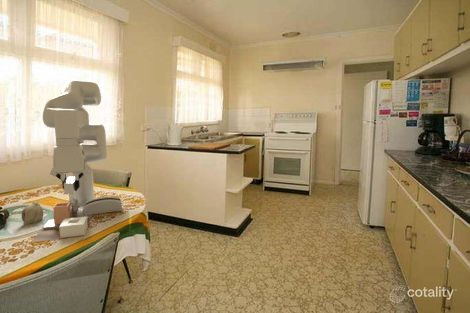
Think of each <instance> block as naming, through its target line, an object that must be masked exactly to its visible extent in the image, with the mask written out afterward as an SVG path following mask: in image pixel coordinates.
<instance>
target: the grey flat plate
mask: <svg viewBox="0 0 470 313" xmlns="http://www.w3.org/2000/svg"><path fill="white" fill-rule="evenodd" d="M91 220H92V217H91V216H89V219H88V221H87V225H88V226H89V225H90V222H91ZM48 221H49V220H48ZM48 221H46V223H47V222H48ZM46 223H45V224H46ZM45 224H44V225H43V226H42V228H41V229H40V230H39V231H38V232H37V234H36V235H35V236H34V238H33V239H32V240H31V241H30V243H38V242H47V241H55V240H56V241H57V240H64V239H72V238H73V239H74V238H82V237H85V235H81V236H72V237H64V238H60V229H59V228H55V229H45V230H43V227H44V226H45Z"/></svg>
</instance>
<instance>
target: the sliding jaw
mask: <svg viewBox="0 0 470 313" xmlns="http://www.w3.org/2000/svg"><path fill="white" fill-rule="evenodd" d="M52 208H53V210H52V211H53V219H54V225H57V224H61V223H62V222H63V220H64V219H66V218H73V217H72V206H71V205H70V202H57V203H55V204H54V206H53V207H52Z"/></svg>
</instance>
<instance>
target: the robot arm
mask: <svg viewBox="0 0 470 313" xmlns="http://www.w3.org/2000/svg"><path fill="white" fill-rule="evenodd" d="M101 102H102V94H101V89H100V87H99V85H98V84H97V83H96V82H95V81H93V80H80V79H70V80H67V81H66V82H65V83H64V85H63V88H62V89H61V92H60V95H58V96H55V97H53V98H51V99H49V100H48V101H47V102H46V104H45V105H44V108H43V112H42V122H43V124H44V126H46V127H47V128H50V129H51V128H52V129H54V132H55V133H54V134H55V145H56V146H54V147H53V153H52V154H53V156H52V157H53V158H52V169H51V170H50V172H49V175H51V176H53V177H56V178H58V179H59V180H60V181H61V183H62V184H61V185H62V190H64V182H65V181H66V180H67V178H68V177H67V174H71V177H75V181H74V182H75V199H77V200H78V207H82V206H85V204H86V202H87V201H89V200H92V199H95V198H96V197H95V191H94V190H95V188H94V171H93V168H92V167H91V166H90V164H88V163H95V162H97V163H98V162H103V161H106V159H107V138H106V137H107V136H106V135H107V134H106V130H105V127H104V124H101V123H91V122H90V119H89V118H90V117H89V116H90V115H89V112H88V111H87V110H86V108H84V107H83V106H95V107H96V106H99V105H100V104H101ZM85 142H95V143H85Z"/></svg>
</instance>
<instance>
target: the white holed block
mask: <svg viewBox="0 0 470 313" xmlns="http://www.w3.org/2000/svg"><path fill="white" fill-rule="evenodd" d="M88 227H89V225H87V217H76V218H66V219H64V220H63V222H62V223H61V225H60V226H59V229H60V238H64V237H72V236H81V235H84V236H85V234H86V232H87V230H88Z"/></svg>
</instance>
